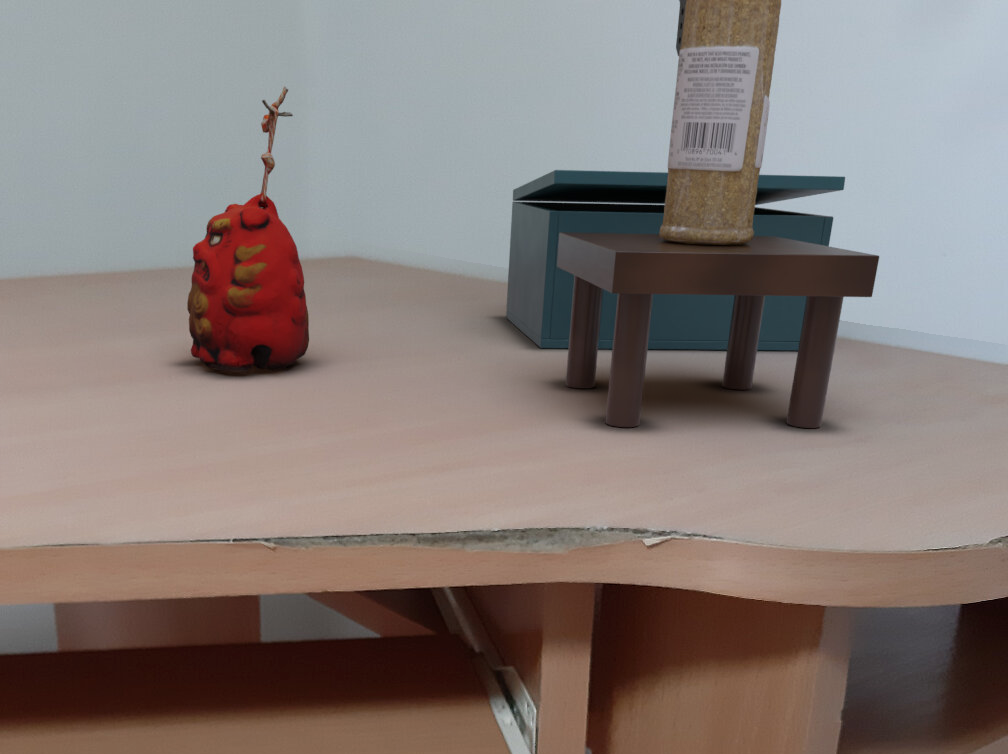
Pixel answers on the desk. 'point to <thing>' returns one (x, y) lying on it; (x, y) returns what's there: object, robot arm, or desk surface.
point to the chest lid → (655, 187)
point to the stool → (707, 271)
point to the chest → (674, 318)
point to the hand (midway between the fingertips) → (701, 113)
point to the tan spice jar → (719, 120)
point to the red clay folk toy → (249, 283)
